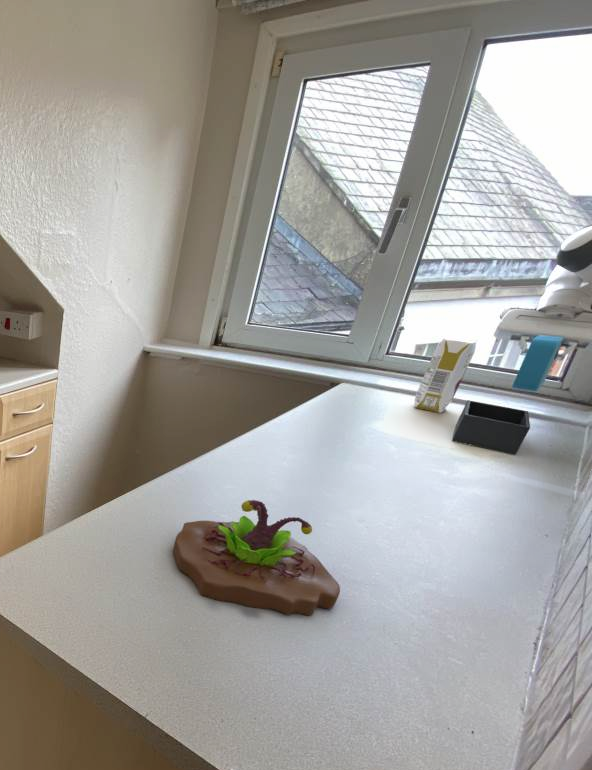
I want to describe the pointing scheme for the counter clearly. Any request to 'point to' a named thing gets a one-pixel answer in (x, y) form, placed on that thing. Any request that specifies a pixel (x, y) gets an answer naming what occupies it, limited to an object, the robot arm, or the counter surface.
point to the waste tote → (492, 427)
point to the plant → (254, 564)
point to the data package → (537, 362)
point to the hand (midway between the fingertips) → (541, 356)
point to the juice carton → (444, 373)
